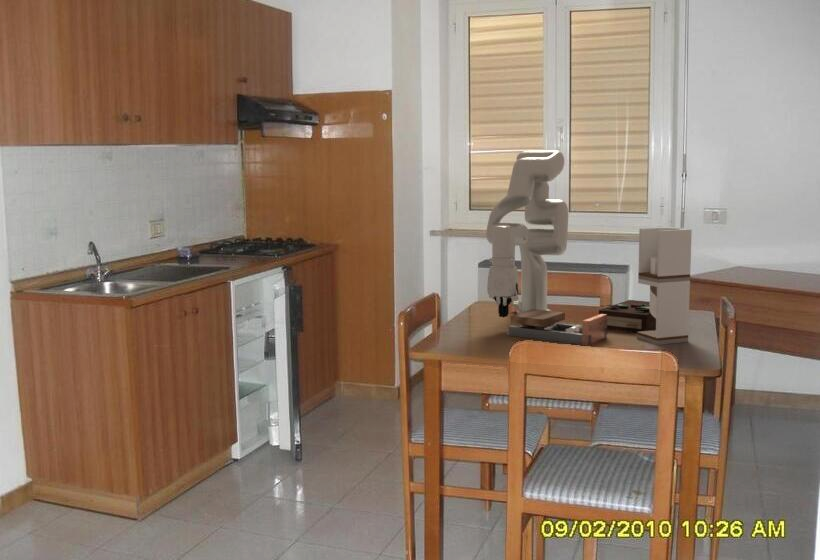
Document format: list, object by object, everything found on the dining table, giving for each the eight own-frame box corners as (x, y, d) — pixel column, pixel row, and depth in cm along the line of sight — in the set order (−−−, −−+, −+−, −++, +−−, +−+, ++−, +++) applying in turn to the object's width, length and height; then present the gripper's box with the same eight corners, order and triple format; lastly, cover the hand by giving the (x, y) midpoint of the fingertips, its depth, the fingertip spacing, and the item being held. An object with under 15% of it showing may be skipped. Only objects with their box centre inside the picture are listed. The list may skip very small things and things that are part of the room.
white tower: (666, 335, 276) (669, 227, 271) (688, 341, 266) (691, 229, 261) (636, 338, 272) (639, 228, 267) (657, 344, 262) (660, 230, 257)
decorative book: (681, 301, 299) (647, 313, 275) (680, 322, 300) (646, 336, 276) (628, 296, 310) (592, 308, 287) (628, 316, 311) (592, 330, 288)
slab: (510, 323, 277) (510, 315, 277) (532, 316, 289) (532, 309, 289) (543, 326, 270) (543, 319, 270) (564, 319, 282) (564, 312, 282)
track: (508, 335, 279) (508, 312, 278) (529, 328, 290) (529, 306, 289) (588, 345, 263) (588, 321, 261) (606, 337, 274) (607, 314, 273)
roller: (562, 340, 271) (562, 328, 270) (573, 336, 277) (573, 324, 277) (573, 342, 269) (574, 329, 268) (584, 337, 275) (585, 325, 274)
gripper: (478, 262, 286) (478, 316, 289) (517, 264, 277) (517, 320, 280) (490, 260, 292) (490, 312, 295) (528, 262, 283) (528, 317, 286)
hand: (503, 316), depth 287 cm, fingers closed
